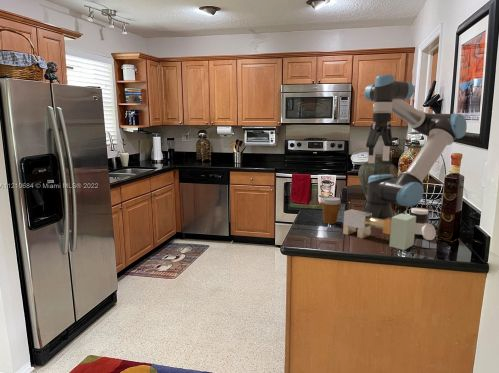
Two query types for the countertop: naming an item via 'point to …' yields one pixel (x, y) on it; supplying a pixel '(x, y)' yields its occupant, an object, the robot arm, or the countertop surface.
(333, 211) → the disposable coffee cup
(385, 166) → the vase
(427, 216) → the flanged pipe fitting
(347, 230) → the white blocky legged figure
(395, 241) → the socket block
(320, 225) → the countertop surface
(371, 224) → the cylinder on square base
